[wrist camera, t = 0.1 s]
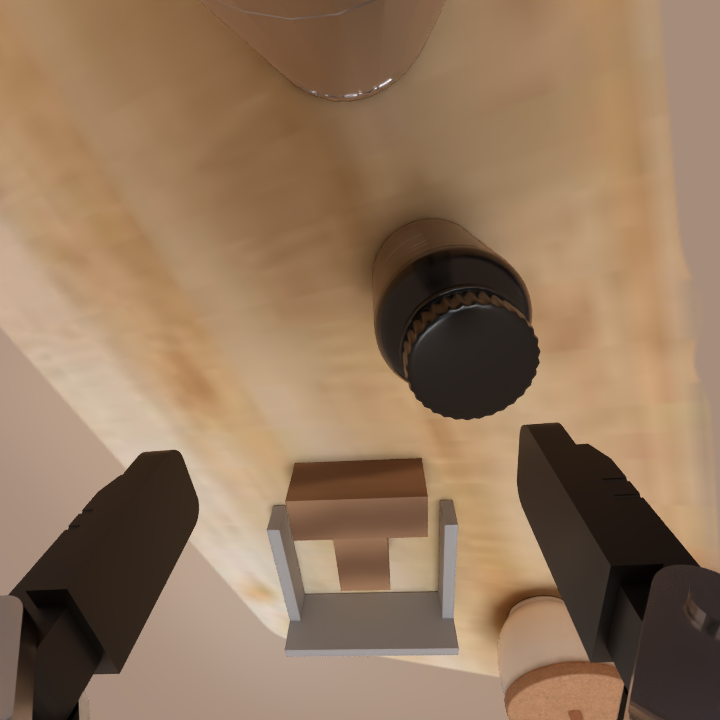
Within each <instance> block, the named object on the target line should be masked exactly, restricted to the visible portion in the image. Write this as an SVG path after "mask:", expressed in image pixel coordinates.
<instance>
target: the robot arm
mask: <svg viewBox="0 0 720 720" xmlns="http://www.w3.org/2000/svg"><path fill="white" fill-rule="evenodd" d="M199 1H200V2H201V3H202V4H203V5H204V6H205V7H207V8H208V9H209V10H210V11H211V12H212V13H213V14H215V15H216V16H217V17H218V18H219V19H220V20H221V21H222V22H224V23H225V24H226V25H227V26H228V27H229V28H230V29H232V30H233V31H234V32H235V33H236V34H237V35H238V36H239V37H241V38H242V39H243V40H244V41H245V42H246V43H247V44H249V45H250V46H251V47H252V48H253V49H254V50H255V51H256V52H258V53H259V54H260V55H261V56H262V57H263V58H264V59H265V60H267V61H268V62H269V63H270V64H271V65H272V66H273V67H275V68H276V69H277V70H278V71H279V72H281V73H282V74H283V75H284V76H285V77H287V78H288V79H289V80H290V81H291V82H292V83H293V84H294V85H296V86H297V87H299V88H301V89H303V90H305V91H306V92H308V93H310V94H312V95H314V96H318V97H321V98H325V99H328V100H333V101H353V100H357V99H362V98H366V97H370V96H372V95H374V94H376V93H378V92H380V91H382V90H384V89H386V88H387V87H389V86H390V85H391V84H392V83H394V82H395V81H396V80H397V79H399V78H400V77H401V76H402V75H403V74H404V73H405V72H406V71H407V69H408V68H409V67H410V66H411V65H412V63H413V62H414V61H415V60H416V58H417V57H418V55H419V53H420V52H421V50H422V48H423V46H424V44H425V42H426V41H427V39H428V37H429V35H430V33H431V31H432V28H433V26H434V24H435V22H436V20H437V18H438V16H439V14H440V12H441V10H442V8H443V6H444V4H445V2H446V0H199ZM517 487H518V494H519V498H520V502H521V505H522V508H523V510H524V512H525V515H526V517H527V519H528V521H529V524H530V526H531V528H532V531H533V533H534V535H535V537H536V540H537V542H538V544H539V546H540V549H541V551H542V553H543V556H544V558H545V560H546V562H547V565H548V567H549V569H550V571H551V574H552V576H553V578H554V581H555V583H556V585H557V587H558V590H559V592H560V594H561V596H562V599H563V601H564V603H565V606H566V608H567V610H568V612H569V615H570V617H571V619H572V622H573V624H574V626H575V628H576V631H577V633H578V635H579V637H580V640H581V642H582V644H583V647H584V649H585V651H586V653H587V656H588V658H589V660H590V662H591V663H601V662H614V664H615V666H616V668H617V670H618V672H619V674H620V676H621V678H622V681H623V683H624V684H623V688H622V692H621V696H620V701H619V706H618V711H617V716H616V720H720V573H717V572H715V571H712V570H709V569H706V568H702V567H700V566H699V564H698V563H697V562H696V561H695V560H694V559H693V557H692V556H691V555H690V554H689V553H688V551H687V550H686V549H685V548H684V546H683V545H682V544H681V543H680V542H679V540H678V539H677V538H676V537H675V536H674V534H673V533H672V532H671V531H670V530H669V528H668V527H667V526H666V525H665V523H664V522H663V521H662V520H661V519H660V517H659V516H658V515H657V514H656V513H655V511H654V510H653V509H652V508H651V506H650V505H649V504H648V503H647V502H646V500H645V499H644V498H641V497H640V493H639V492H638V491H637V490H636V488H635V487H634V486H633V485H632V483H631V482H630V481H627V479H626V476H625V475H624V474H623V473H622V471H621V470H620V469H619V468H618V467H617V465H616V464H615V463H614V462H613V460H612V459H611V458H609V457H608V456H606V455H605V454H603V453H601V452H600V451H598V450H597V449H595V448H594V447H592V446H591V445H589V444H578V445H576V444H575V442H574V441H573V440H572V438H571V437H570V436H569V434H568V433H567V432H566V430H565V429H564V428H563V426H562V425H561V424H560V423H544V424H531V425H523V426H522V427H521V430H520V438H519V455H518V471H517ZM82 511H83V512H82V514H78V516H77V517H76V518H75V519H74V520H73V521H72V522H71V524H70V525H69V529H68V530H65V531H64V532H63V533H62V534H61V535H60V536H59V537H58V539H57V540H56V541H55V542H54V543H53V544H52V546H51V547H50V548H49V549H48V550H47V551H46V552H45V553H44V555H43V556H42V557H41V558H40V559H39V560H38V562H37V563H36V564H35V565H34V566H33V567H32V568H31V570H30V571H29V572H28V573H27V574H26V575H25V577H24V578H23V579H22V580H21V581H20V582H19V583H18V584H17V586H16V587H15V588H14V589H13V590H12V591H11V593H10V594H9V595H5V596H0V720H90V713H89V700H88V696H87V694H86V692H85V691H84V690H85V688H86V686H87V684H88V682H89V681H90V679H91V677H92V675H93V674H119V673H120V672H121V670H122V668H123V666H124V664H125V662H126V660H127V658H128V656H129V654H130V652H131V650H132V648H133V646H134V645H135V643H136V641H137V639H138V637H139V635H140V633H141V631H142V629H143V627H144V625H145V623H146V621H147V619H148V617H149V615H150V613H151V611H152V609H153V607H154V605H155V603H156V602H157V600H158V598H159V596H160V594H161V592H162V590H163V588H164V586H165V584H166V581H167V580H168V578H169V576H170V574H171V572H172V570H173V568H174V566H175V564H176V562H177V560H178V558H179V557H180V555H181V553H182V551H183V549H184V547H185V545H186V543H187V541H188V539H189V537H190V535H191V533H192V531H193V529H194V527H195V525H196V522H197V519H198V514H199V502H198V497H197V495H196V492H195V489H194V486H193V484H192V481H191V478H190V476H189V473H188V470H187V467H186V465H185V462H184V459H183V457H182V455H181V453H180V452H179V451H177V450H166V451H152V452H143V453H141V454H140V455H139V456H138V457H137V458H136V459H135V461H134V462H133V463H132V464H131V465H130V467H129V468H128V469H127V470H126V471H125V472H124V474H123V475H120V476H119V477H117V478H116V479H115V480H113V481H112V482H111V483H109V484H108V485H107V486H105V487H104V488H103V489H101V490H100V491H99V492H98V493H97V494H96V495H95V496H94V497H93V498H92V500H91V501H90V502H89V503H88V504H87V505H86V506H85V508H84V509H83V510H82Z"/></svg>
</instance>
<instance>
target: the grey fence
mask: <svg viewBox="0 0 720 720" xmlns="http://www.w3.org/2000/svg"><path fill="white" fill-rule="evenodd" d="M267 533H268V537H269V541H270V545H271V549H272V552H273V556H274V560H275V564H276V568H277V572H278V576H279V580H280V584H281V587H282V591H283V595H284V599H285V603H286V607H287V611H288V615H289V619H290V624H289V629H288V635H287V641H286V646H285V653H286V656H287V657H292V656H399V655H458V651H459V647H458V642H457V636H456V630H455V624H454V597H455V576H456V556H457V535H458V523H457V518H456V514H455V509H454V505H453V501H452V500H440V533H439V585H438V592H398V593H345V594H305V593H304V588H303V584H302V579H301V575H300V570H299V566H298V561H297V556H296V552H295V547H294V543H293V538H292V534H291V529H290V524H289V520H288V515H287V511H286V506H285V505H282V506H274V507H273V510H272V514H271V517H270V521H269V524H268V528H267Z"/></svg>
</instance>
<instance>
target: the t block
mask: <svg viewBox="0 0 720 720" xmlns="http://www.w3.org/2000/svg"><path fill="white" fill-rule="evenodd" d="M285 502H286V507H287V512H288V516H289V521H290V526H291V530H292V535H293V540H294V541H297V540H333V541H334V547H335V554H336V561H337V567H338V574H339V580H340V587H341V591H349V590H390V570H389V546H388V538H404V537H428V496H427V490H426V483H425V477H424V471H423V465H422V458H416V459H390V460H364V461H338V462H313V463H295V465H294V469H293V473H292V477H291V481H290V485H289V489H288V493H287V497H286V501H285Z"/></svg>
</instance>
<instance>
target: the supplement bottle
mask: <svg viewBox="0 0 720 720" xmlns="http://www.w3.org/2000/svg"><path fill="white" fill-rule="evenodd" d="M372 290H373V310H374V327H375V335H376V340H377V344H378V347H379V350H380V353H381V355H382V357H383V359H384V360H385V362H386V363H387V365H388V366H389V367H390V369H391V370H392V371H393V372H394V373H395V374H396V375H397V376H398V377H400V378H401V379H402V380H404V381H405V382H407V383H409V388H410V390H411V391H412V392H414V394H415V397H416V399H417V400H419V401H421V402H422V404H423V405H424V407H427V408H430V409H431V410H432V412H433V413H438V414H441V415H442V416H443V417H451V418H453V419H455V420H457V419H465V420H470V419H473V418H477V419H480V418H482V417H484V416H490V415H493V414H495V413H496V412H497V411H502V410H504V409H505V408H506V407H507V406H508V405H511V404H513V403H515V401H516V400H517V398H519V397H521V396H522V395H523V394H524V392H525V390H526V389H527V388H528V387H529V386H530V385H531V383H532V379H533V378H534V377H535V375H536V372H537V371H536V368H537V367H538V365H539V363H540V362H539V359H538V357H539V354H540V349H539V347H538V338H537V336H536V335H535V334H534V329H533V327H532V325H531V323H532V305H531V300H530V295H529V292H528V290H527V287H526V285H525V283H524V281H523V280H522V278H521V277H520V275H519V274H518V273H517V271H516V270H515V269H514V268H513V267H512V266H511V265H510V264H509V263H508V262H507V261H506V260H505V259H503V258H502V257H501V256H499V255H498V254H497V253H496V252H494V251H493V250H492V249H490V248H489V247H488V246H487V245H485V244H484V243H483V242H481V241H480V240H479V239H477V238H476V237H475V236H474V235H472V234H471V233H470V232H468V231H467V230H465V229H464V228H462V227H461V226H459V225H457V224H455V223H452V222H449V221H446V220H441V219H424V220H419V221H415V222H412V223H410V224H408V225H406V226H404V227H402V228H400V229H399V230H397V231H396V232H395V233H394V234H392V235H391V236H390V237H389V238H388V239H387V241H386V242H385V243H384V244H383V246H382V247H381V249H380V251H379V253H378V255H377V257H376V260H375V263H374V268H373V275H372Z"/></svg>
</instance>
